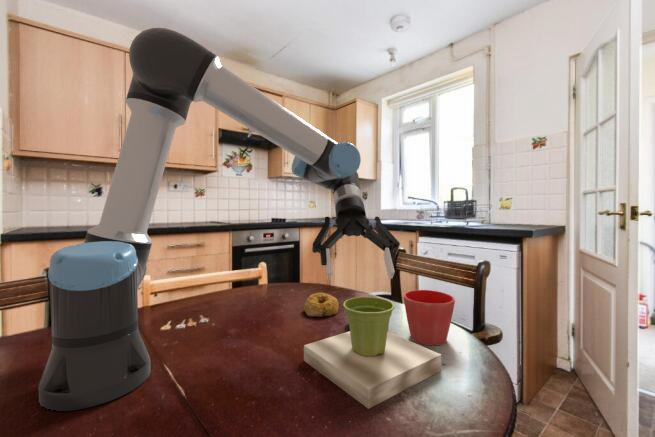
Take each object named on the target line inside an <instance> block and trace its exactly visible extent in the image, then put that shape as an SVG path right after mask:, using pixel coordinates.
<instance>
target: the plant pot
mask: <svg viewBox="0 0 655 437" xmlns="http://www.w3.org/2000/svg"><path fill="white" fill-rule="evenodd" d="M342 305H343V308H344V309H345V315H346V316H347V320H348V327H349V331H350V335H351V343H352V349H353V351H356V352H357V353H358V354H359V355H362V356H370V357H371V356H376V355H377V354H382V353H384V351H385V346H386V339H387V332H389V331H388V326H389V325H390V319H391V317H392V313H393V311H394V310H395V304H394V302H392V301H391V300H388V299H387V298H381V297H378V296H356V297H351V298H349V299H346V300H345V301H344V302H343V303H342ZM389 327H390V326H389Z"/></svg>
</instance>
